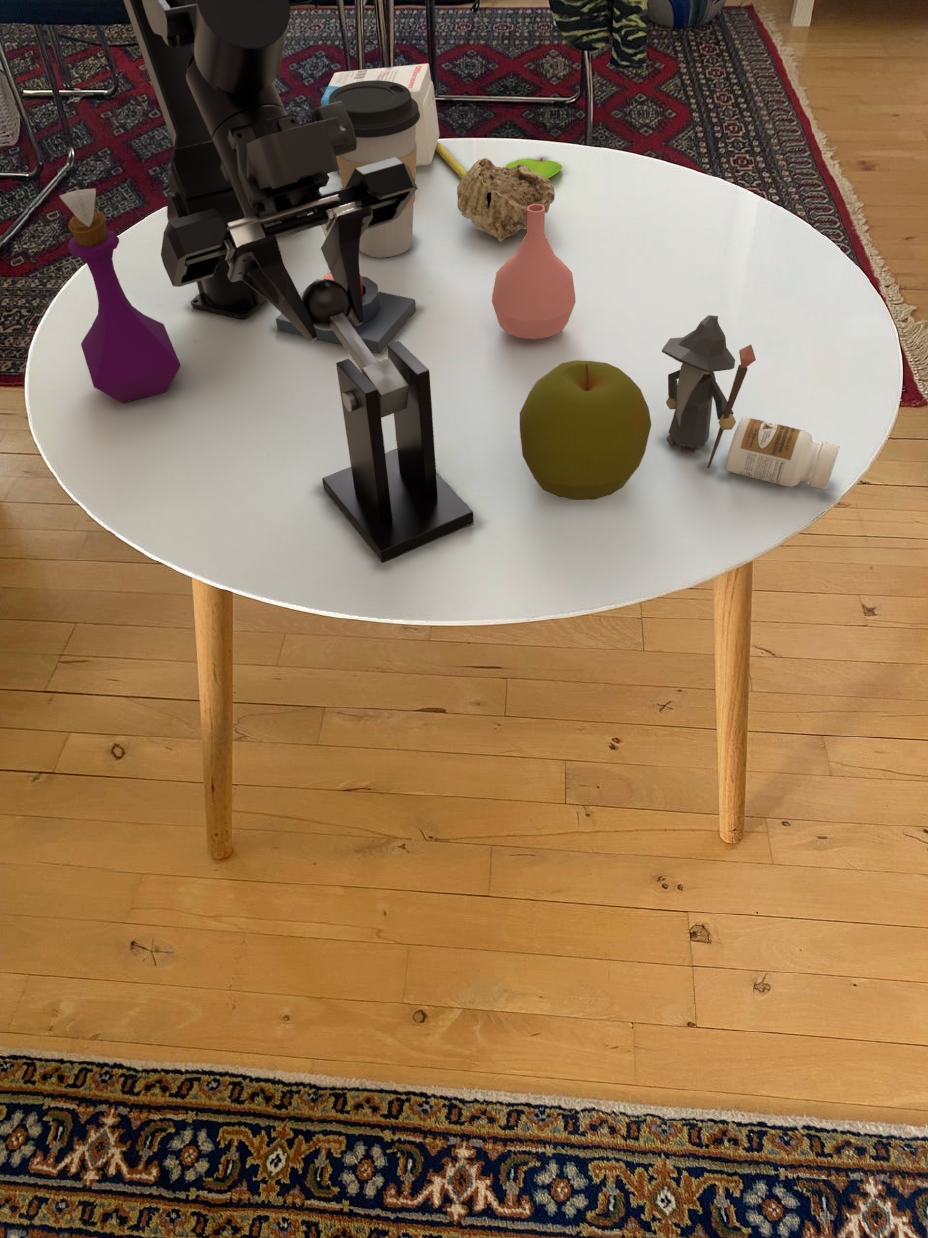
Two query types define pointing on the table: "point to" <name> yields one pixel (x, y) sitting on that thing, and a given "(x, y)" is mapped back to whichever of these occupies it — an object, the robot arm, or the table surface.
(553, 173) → the decorative leaf
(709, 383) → the wizard figurine
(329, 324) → the lever
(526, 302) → the pink vase
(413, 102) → the coffee cup
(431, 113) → the ink box
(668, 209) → the table surface
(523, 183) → the brown rough chunky piece
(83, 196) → the perfume bottle
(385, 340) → the control block
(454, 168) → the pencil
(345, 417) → the bracket
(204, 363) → the table surface
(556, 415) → the apple
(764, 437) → the pill bottle
